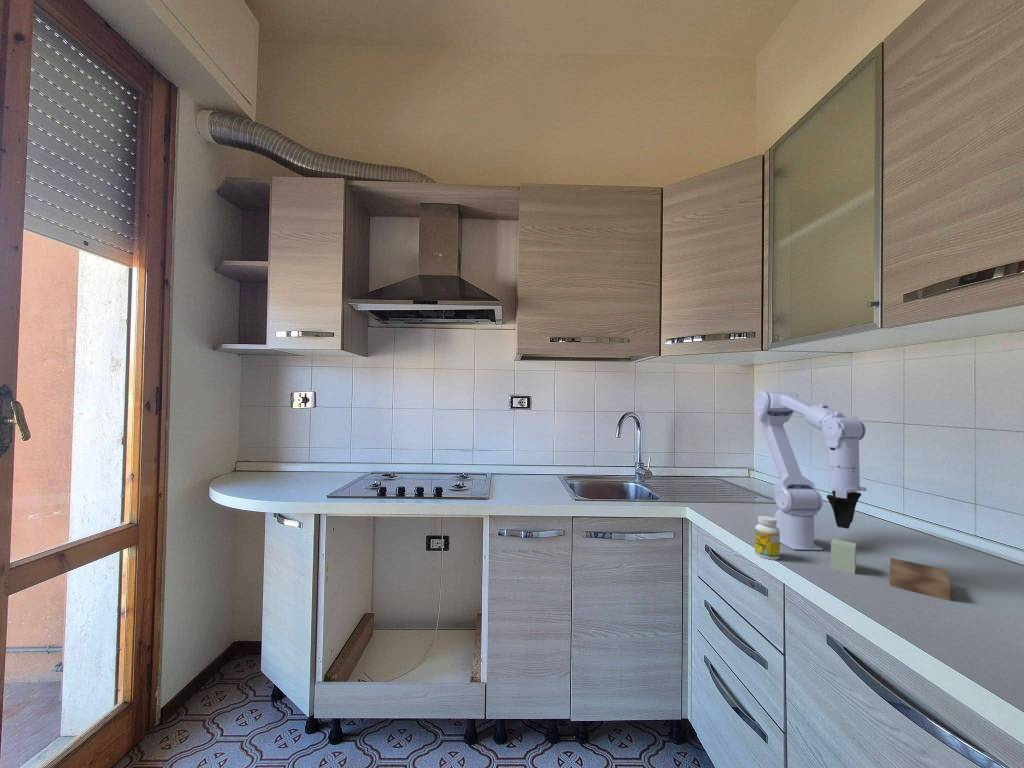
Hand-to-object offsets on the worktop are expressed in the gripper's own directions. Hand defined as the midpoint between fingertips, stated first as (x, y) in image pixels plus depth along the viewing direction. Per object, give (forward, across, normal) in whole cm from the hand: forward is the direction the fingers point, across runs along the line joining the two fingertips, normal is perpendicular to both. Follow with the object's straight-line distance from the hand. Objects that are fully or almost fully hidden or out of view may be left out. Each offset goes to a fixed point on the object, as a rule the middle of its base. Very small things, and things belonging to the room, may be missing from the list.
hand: (844, 524), depth 99 cm
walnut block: (+11, 0, -12) cm, 17 cm away
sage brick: (+10, 0, 0) cm, 11 cm away
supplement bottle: (+10, -5, +15) cm, 19 cm away
